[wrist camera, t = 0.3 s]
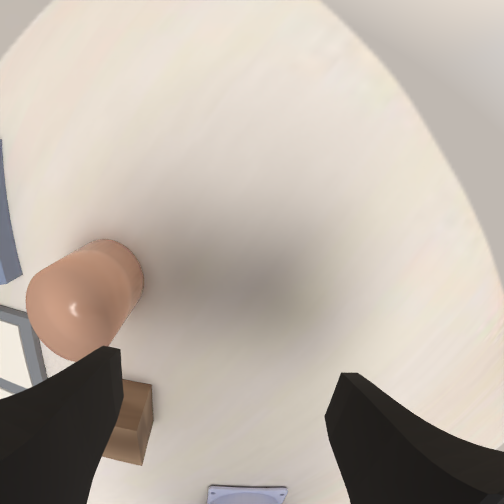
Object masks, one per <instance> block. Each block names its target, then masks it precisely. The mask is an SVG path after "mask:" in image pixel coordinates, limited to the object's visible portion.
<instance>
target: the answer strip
mask: <svg viewBox="0 0 504 504" xmlns="http://www.w3.org/2000/svg"><path fill="white" fill-rule="evenodd" d="M46 379H47V375H46V370H45V366H44V362H43V357H42V352H41V347H40V342H39V337H38V336H37V334H36V333H35V331H34V329H33V327H32V325H31V323H30V321H29V318H28V314H27V313H25V312H22V311H18V310H15V309H11V308H8V307H5V306H2V305H0V399H3V398H6V397H9V396H11V395H14V394H16V393H19V392H21V391H24V390H26V389H28V388H31V387H33V386H35V385H37V384H39V383H41V382H42V381H44V380H46Z"/></svg>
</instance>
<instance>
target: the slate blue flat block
mask: <svg viewBox="0 0 504 504" xmlns="http://www.w3.org/2000/svg"><path fill="white" fill-rule="evenodd" d="M21 275H23V274H22V270H21V266H20V262H19V258H18V254H17V250H16V245H15V241H14V236H13V231H12V226H11V220H10V215H9V209H8V202H7V195H6V187H5V178H4V168H3V155H2V139H0V285H1V284H7V283H9V282H11V281H12V280H14V279H16V278H17V277H19V276H21Z"/></svg>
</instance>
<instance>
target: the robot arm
mask: <svg viewBox="0 0 504 504" xmlns="http://www.w3.org/2000/svg"><path fill="white" fill-rule="evenodd" d="M123 398H124V392H123V381H122V368H121V353H120V349H117V348H113V347H108V346H101V347H99V348H98V349H96V350H94V351H93V352H91V353H90V354H88V355H87V356H85V357H83V358H82V359H80V360H79V361H77V362H76V363H74V364H72V365H71V366H69V367H67V368H66V369H64V370H62V371H61V372H59V373H57V374H55V375H54V376H52V377H50V378H48V379H46V380H44V381H42V382H41V383H39V384H37V385H35V386H33V387H31V388H28V389H26V390H24V391H21V392H19V393H16V394H14V395H11V396H9V397H6V398H3V399H0V504H87V500H88V496H89V492H90V488H91V484H92V480H93V477H94V474H95V471H96V469H97V467H98V464H99V462H100V459H101V457H102V455H103V452H104V450H105V448H106V445H107V443H108V441H109V439H110V436H111V434H112V432H113V429H114V427H115V425H116V422H117V419H118V416H119V413H120V409H121V405H122V402H123ZM325 421H326V427H327V432H328V437H329V441H330V444H331V447H332V450H333V453H334V455H335V458H336V461H337V464H338V466H339V469H340V472H341V475H342V477H343V480H344V483H345V486H346V488H347V492H348V495H349V498H350V503H351V504H504V452H502V451H498V450H494V449H489V448H486V447H482V446H479V445H476V444H473V443H470V442H468V441H465V440H462V439H460V438H457V437H455V436H453V435H451V434H449V433H447V432H445V431H443V430H441V429H439V428H437V427H435V426H433V425H431V424H430V423H428V422H426V421H425V420H423V419H421V418H420V417H418V416H417V415H415V414H414V413H412V412H411V411H409V410H408V409H406V408H405V407H403V406H402V405H401V404H399V403H398V402H396V401H395V400H394V399H392V398H391V397H390V396H388V395H387V394H386V393H384V392H383V391H382V390H381V389H379V388H378V387H377V386H375V385H374V384H373V383H371V382H370V381H369V380H367V379H366V378H364V377H363V376H362V375H360V374H358V373H341V374H340V377H339V380H338V383H337V385H336V388H335V391H334V394H333V396H332V399H331V401H330V404H329V406H328V409H327V411H326V414H325ZM287 493H288V490H287V488H238V487H220V486H210V487H209V490H208V500H207V504H282V503H283V501H284V499H285V497H286V495H287Z"/></svg>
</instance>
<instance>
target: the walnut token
mask: <svg viewBox="0 0 504 504" xmlns="http://www.w3.org/2000/svg"><path fill="white" fill-rule="evenodd" d="M122 381H123V392H124V398H123V402H122V405H121V409H120V413H119V416H118V419H117V422H116V425H115V427H114V429H113V432H112V434H111V436H110V439H109V441H108V443H107V445H106V448H105V450H104V452H103V455H102V456H103V457H107V458H110V459H114V460H118V461H123V462H127V463H131V464H136V465H141V466H142V464H143V460H144V456H145V452H146V448H147V444H148V440H149V436H150V432H151V428H152V425H153V421H154V420H153V405H152V385H150V384H145V383H139V382H134V381H129V380H124V379H122Z"/></svg>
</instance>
